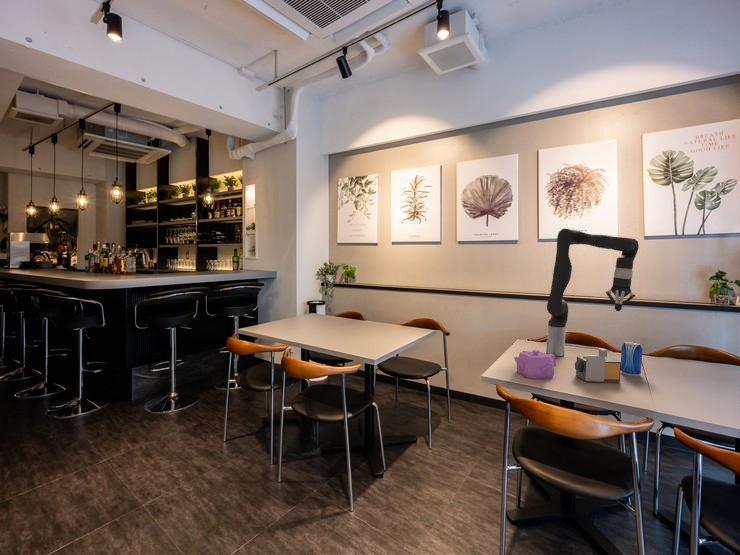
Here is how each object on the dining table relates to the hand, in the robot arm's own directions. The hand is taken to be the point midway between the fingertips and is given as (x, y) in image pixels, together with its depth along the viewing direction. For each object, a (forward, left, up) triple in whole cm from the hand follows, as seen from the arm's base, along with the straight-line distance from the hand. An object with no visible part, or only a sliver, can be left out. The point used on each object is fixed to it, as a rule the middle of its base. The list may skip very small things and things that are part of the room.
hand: (617, 310), depth 180 cm
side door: (-6, -27, -31) cm, 41 cm away
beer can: (+7, 0, -32) cm, 32 cm away
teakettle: (-30, -33, -32) cm, 55 cm away
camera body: (-5, -20, -32) cm, 38 cm away
